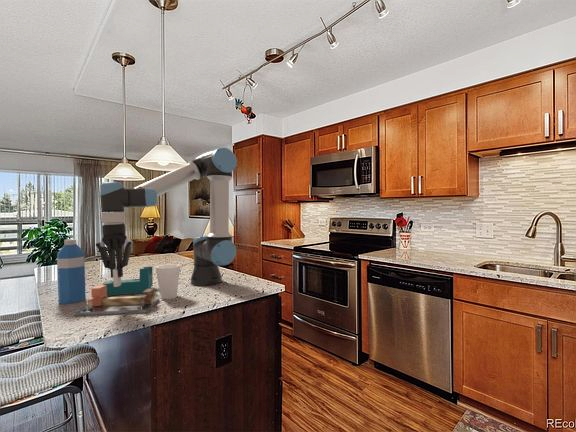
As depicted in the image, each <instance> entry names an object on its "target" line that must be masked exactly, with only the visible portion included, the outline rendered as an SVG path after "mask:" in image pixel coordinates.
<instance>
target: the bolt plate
mask: <svg viewBox="0 0 576 432" xmlns="http://www.w3.org/2000/svg"><path fill="white" fill-rule="evenodd" d="M159 302H160V298H154V302H153V303H152V304H144V306H143V307H141V304H128V305H104V306H92V307H93V308H92V309H89V306H88V305H86V306H84V307H82V308H80V309H78V310H77V311H75V312H74V317H81V316H82V317H85V316H105V315H106V316H107V315H123V314H122V313H134V314H147V313H148V312H149V311H150V310H151V309H152V308H153V307H155V306H156V305H157V304H159ZM156 303H157V304H156ZM155 304H156V305H155ZM154 305H155V306H154ZM149 309H150V310H149ZM148 310H149V311H148ZM147 311H148V312H147ZM146 312H147V313H146ZM120 313H121V314H120Z"/></svg>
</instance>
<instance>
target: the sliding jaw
mask: <svg viewBox="0 0 576 432" xmlns="http://www.w3.org/2000/svg"><path fill="white" fill-rule="evenodd" d="M103 297H108V296H107V285H103V284H100V285H99V284H98V285H96V286H94V287H91V297H90V298H88V299H87V303H88V302H89V309H92V308H93V307H92V306H101V305H102V298H103Z"/></svg>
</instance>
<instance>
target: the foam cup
mask: <svg viewBox="0 0 576 432" xmlns="http://www.w3.org/2000/svg"><path fill="white" fill-rule="evenodd" d="M180 271H181V265H180V264H177V263H169V264H161V265H157V266H156V267H155V273H156V277H157V283H158V289H159V295H160V299H161V298H162V300H171V298H172V299H176V298H177V297H178V291H179V290H178V288H179V280H180V279H179V278H180Z"/></svg>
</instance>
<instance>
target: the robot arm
mask: <svg viewBox="0 0 576 432" xmlns="http://www.w3.org/2000/svg"><path fill="white" fill-rule="evenodd" d="M237 166H238V160H237V156H236V155H235V153H234V152H233V151H232V150H231V149H230V148H227V147H216V148H214V149H211V150H209V151H206V152H203V153H202V154H200V155H199V156H197V157H195V158H194V159H193V158H192V160H189V161H188V162H187V164H185V165H183V166H181V167H179V168H176V169H174V170H172V171H170V172H167V173H164V174H163V175H160V176H158V177H155V178H153V179H151V180H149V181H145V182H144V183H141V184H139V185H138V186H134V187H124V186H123V183H122V182H119V181H118V182H117V181H115V182H114V181H109V182H108V181H107V182H102V183H101V184H100V185H99V197H100V198H99V200H100V210H101V224H103V225H102V226H101V228H102V231H101V232H102V238H101V241H99V242H97V243H95V247H96V248H97V249H98V251H99V254H100V255H99V256H100V258H101V260H102V263H103V267H104V268H105V269H108V270H110V277H111V278H112V279H113V280H112V281H113V283H114V287H118V286H120V285H121V280H122V277H123V276H124V271H123V269H124V268H126V267H127V266H128V265H129V260H130V255H131V251H132V250H131V249H132V246H133V245H134V241H133V240H130V239H128V237H127V235H126V224H125V222H126V221H125V220H126V219H125V208H129V209H134V208H144V207H145V208H148V207H155V206H156V205H157V203H158V197H159V196H162V195H164V194H166V193H167V192H168V193H169V192H170V191H172V190H174V189H177V188H179V187H180V186H183V185H185V184H186V183H189V182H191V181H194V180H197V181H198V180H200V179H203V178H207V179H208V180H209V182H210V183H209V184H210V185H209V194H210V195H209V202H210V203H209V233H208V234H207V235H206V236H205V235H204V236H197V237H194V238H193V243H192V246H193V270H192V274H191V277H190V284H191V285H192V286H198V287H200V286H212V285H217V284H220V283H222V281H223V279H222V274H221V271H220V267H219V266H227V265H230V263H231V262H233V261H234V259H235V257H236V255H237V247H236V245H235V243H234V242H233V236H232V234H231V233H230V232H229V231H230V229H229V228H230V227H229V226H230V225H229V224H230V221H229V219H230V218H229V217H230V213H229V212H230V210H229V209H230V181H231V180H232V179H233V171H234V170H235V169H236V168H237ZM124 246H125V247H124ZM106 247H107V249H106ZM123 247H124V249H123ZM123 250H124V252H123Z"/></svg>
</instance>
